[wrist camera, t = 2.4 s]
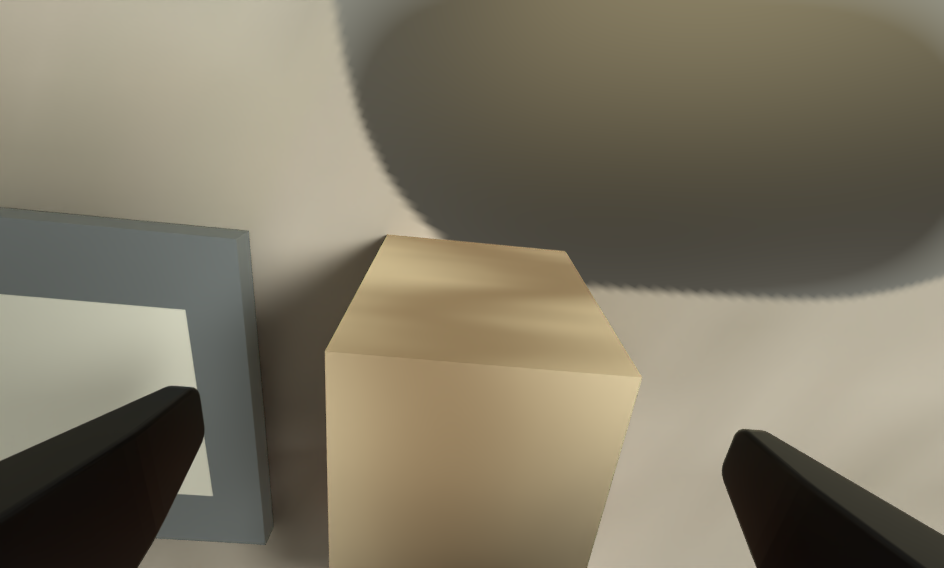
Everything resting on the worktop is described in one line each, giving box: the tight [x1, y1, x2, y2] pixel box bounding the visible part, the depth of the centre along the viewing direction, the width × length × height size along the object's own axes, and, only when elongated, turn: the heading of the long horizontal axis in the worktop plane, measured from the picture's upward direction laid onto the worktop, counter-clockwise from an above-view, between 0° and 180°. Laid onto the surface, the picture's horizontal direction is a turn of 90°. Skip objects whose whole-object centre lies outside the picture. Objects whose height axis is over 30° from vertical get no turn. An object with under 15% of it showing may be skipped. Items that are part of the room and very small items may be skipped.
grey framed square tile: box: [0, 207, 274, 545], centre depth 11 cm, size 8×9×1 cm
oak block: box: [325, 235, 642, 568], centre depth 9 cm, size 4×4×5 cm
